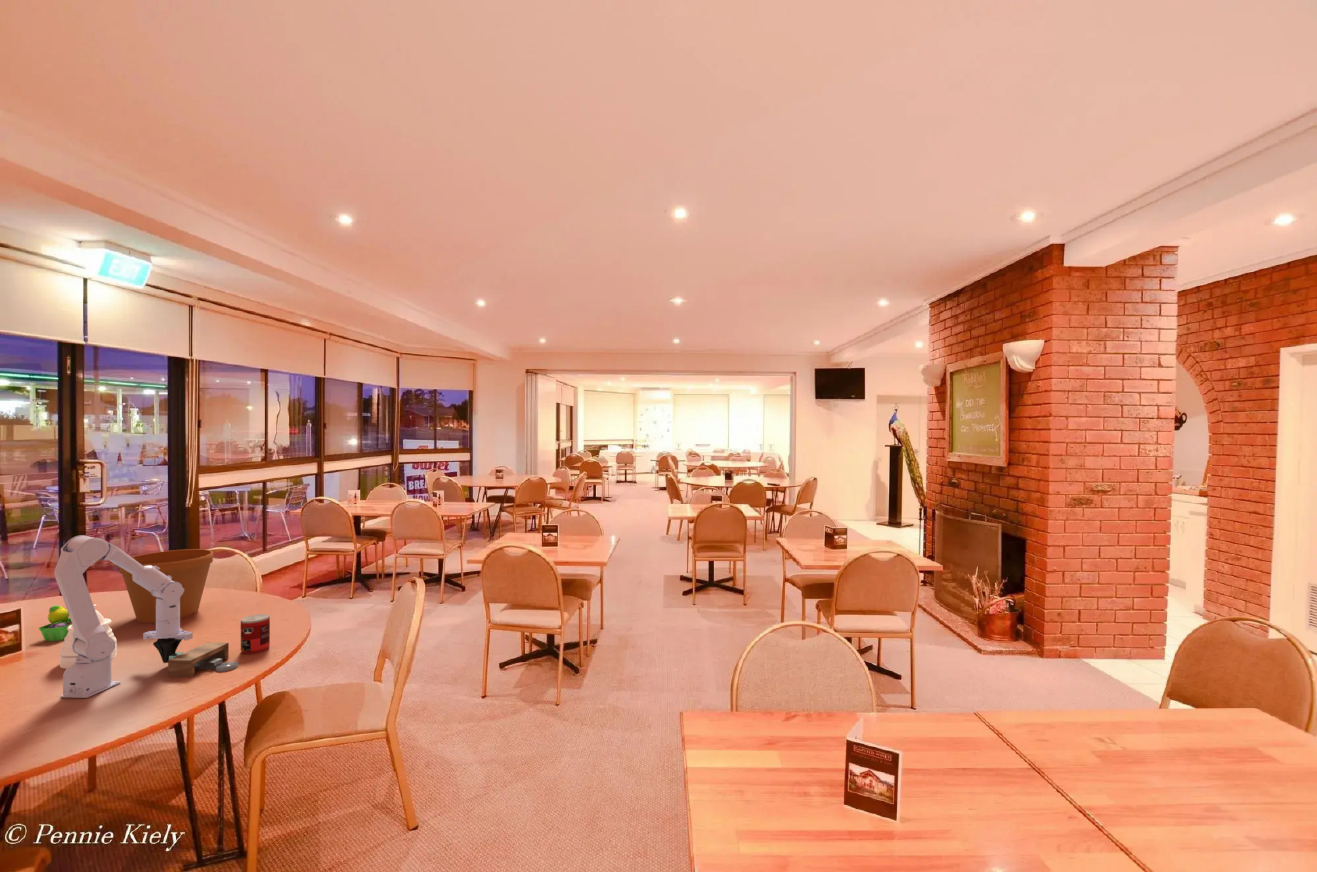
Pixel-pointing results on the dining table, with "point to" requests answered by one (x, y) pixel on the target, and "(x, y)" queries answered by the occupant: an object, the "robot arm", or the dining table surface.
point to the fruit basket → (56, 624)
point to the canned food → (255, 633)
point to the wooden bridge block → (196, 658)
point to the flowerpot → (182, 568)
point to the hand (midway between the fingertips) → (168, 661)
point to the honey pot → (66, 650)
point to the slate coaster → (227, 666)
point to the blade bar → (203, 662)
